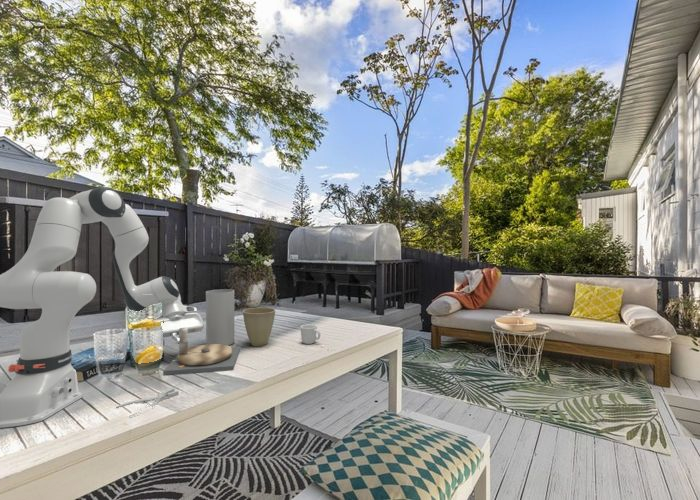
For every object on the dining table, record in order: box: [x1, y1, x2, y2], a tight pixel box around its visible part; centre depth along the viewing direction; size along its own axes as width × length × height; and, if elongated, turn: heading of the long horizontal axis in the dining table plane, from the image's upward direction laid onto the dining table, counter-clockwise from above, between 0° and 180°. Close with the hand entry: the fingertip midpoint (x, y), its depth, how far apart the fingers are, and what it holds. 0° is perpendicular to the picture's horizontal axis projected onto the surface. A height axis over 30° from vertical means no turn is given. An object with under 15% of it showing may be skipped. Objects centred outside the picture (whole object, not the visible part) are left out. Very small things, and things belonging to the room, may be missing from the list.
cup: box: [299, 323, 321, 345], centre depth 160 cm, size 11×8×8 cm
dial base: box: [162, 346, 241, 376], centre depth 135 cm, size 24×24×2 cm
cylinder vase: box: [205, 288, 235, 346], centre depth 159 cm, size 12×12×25 cm
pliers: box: [115, 387, 180, 417], centre depth 100 cm, size 10×2×15 cm
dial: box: [177, 328, 232, 365], centre depth 135 cm, size 20×20×12 cm
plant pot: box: [242, 307, 276, 347], centre depth 159 cm, size 15×15×16 cm
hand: (181, 342), depth 134 cm, fingers closed
